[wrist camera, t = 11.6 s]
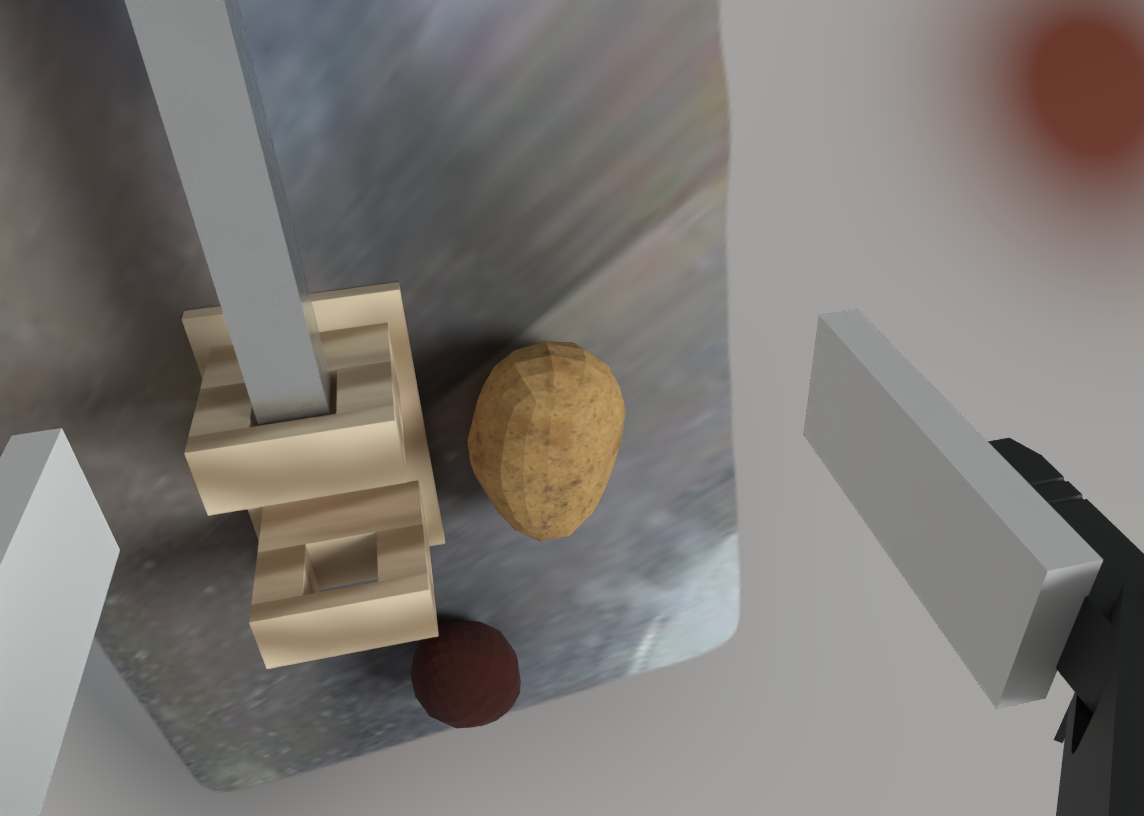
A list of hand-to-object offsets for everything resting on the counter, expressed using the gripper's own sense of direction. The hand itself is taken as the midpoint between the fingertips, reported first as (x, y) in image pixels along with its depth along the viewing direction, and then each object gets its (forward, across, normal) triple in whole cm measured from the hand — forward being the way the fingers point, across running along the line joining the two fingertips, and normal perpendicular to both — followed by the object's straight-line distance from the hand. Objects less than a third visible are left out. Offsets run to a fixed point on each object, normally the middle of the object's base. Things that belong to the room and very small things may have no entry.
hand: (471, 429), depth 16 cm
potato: (+35, +5, -24) cm, 43 cm away
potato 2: (+35, -2, -45) cm, 57 cm away
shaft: (+30, -8, -5) cm, 31 cm away
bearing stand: (+35, -8, -24) cm, 43 cm away
